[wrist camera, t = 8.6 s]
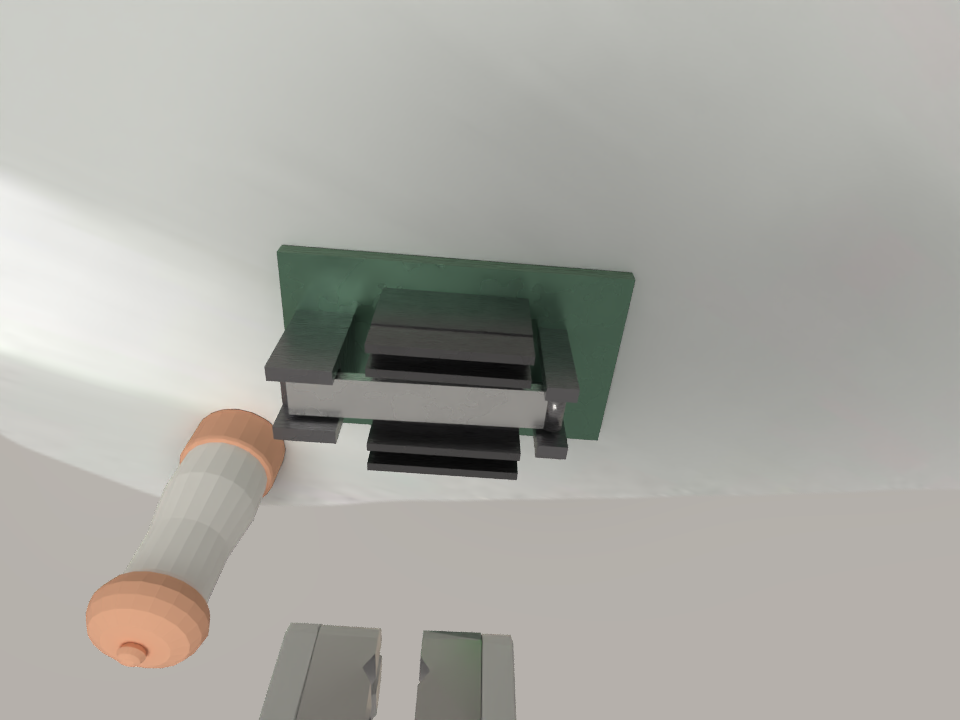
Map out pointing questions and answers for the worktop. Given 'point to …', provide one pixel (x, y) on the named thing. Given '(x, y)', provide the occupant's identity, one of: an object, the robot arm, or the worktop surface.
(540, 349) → the cooling board
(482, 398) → the steel strap
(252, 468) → the pepper shaker
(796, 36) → the worktop surface
